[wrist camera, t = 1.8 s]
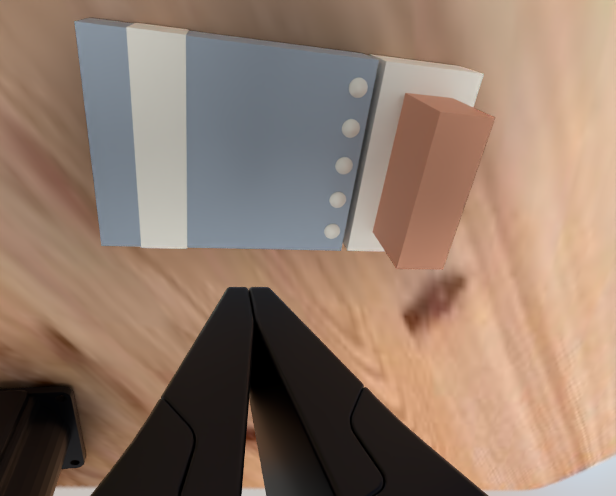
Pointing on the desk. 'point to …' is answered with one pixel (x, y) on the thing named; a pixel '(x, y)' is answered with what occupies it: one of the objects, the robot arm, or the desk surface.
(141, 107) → the light blue flat piece
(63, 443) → the robot arm
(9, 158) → the desk surface
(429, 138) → the stub
